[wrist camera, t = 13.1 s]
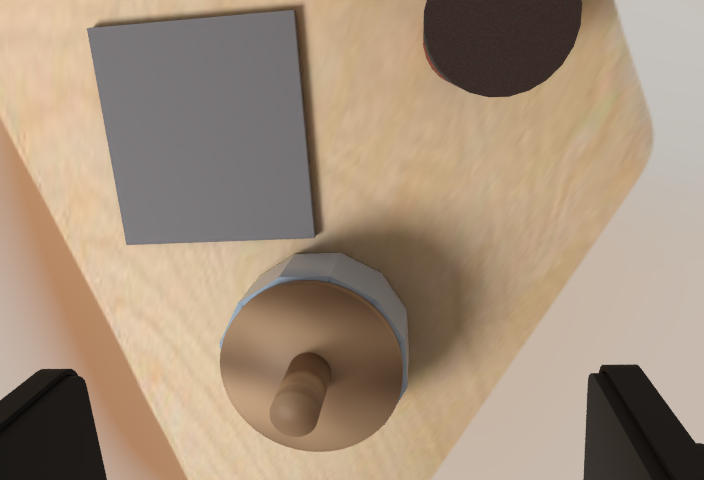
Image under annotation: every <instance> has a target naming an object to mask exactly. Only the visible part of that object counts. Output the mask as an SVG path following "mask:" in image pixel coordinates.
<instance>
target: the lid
mask: <svg viewBox="0 0 704 480" xmlns="http://www.w3.org/2000/svg"><path fill="white" fill-rule="evenodd" d="M220 369H221V376H222V380H223V385H224V387H225V390H226V393H227V395H228V397H229V399H230V401H231V403H232V404H233V406H234V407H235V409H236V410H237V412H238V413H239V414H240V415H241V416H242V418H243V419H244V420H245V421H246V422H247V423H248V424H249V425H250V426H252V427H253V428H254V429H255V430H256V431H258V432H259V433H261V434H262V435H263V436H265V437H267V438H269V439H270V440H272V441H274V442H277V443H279V444H281V445H284V446H287V447H290V448H294V449H298V450H304V451H313V452H324V451H334V450H340V449H344V448H347V447H350V446H353V445H355V444H357V443H360V442H362V441H363V440H365V439H367V438H368V437H370V436H371V435H373V434H374V433H375V432H376V431H378V430H379V429H380V428H381V427H382V426H383V425H384V424H385V422H386V421H387V420H388V419H389V417H390V416H391V414H392V413H393V411H394V409H395V407H396V405H397V403H398V399H399V396H400V393H401V388H402V381H403V359H402V352H401V348H400V345H399V341H398V339H397V337H396V335H395V332H394V330H393V329H392V327H391V325H390V324H389V322H388V321H387V319H386V318H385V317H384V316H383V314H382V313H381V312H380V311H379V310H378V309H377V308H376V307H375V306H374V305H373V304H372V303H370V302H369V301H368V300H366V299H365V298H364V297H362V296H361V295H359V294H357V293H356V292H354V291H352V290H350V289H348V288H345V287H343V286H340V285H337V284H334V283H330V282H325V281H319V280H295V281H289V282H285V283H280V284H278V285H275V286H272V287H270V288H268V289H266V290H264V291H262V292H260V293H259V294H257V295H256V296H255V297H253V298H252V299H251V300H249V301H248V302H247V303H246V304H245V305H244V306H243V307H242V309H241V310H240V311H239V313H238V314H237V315H236V317H235V318H234V319H233V321H232V322H231V324H230V326H229V328H228V329H227V331H226V334H225V337H224V339H223V343H222V348H221V353H220Z"/></svg>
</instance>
